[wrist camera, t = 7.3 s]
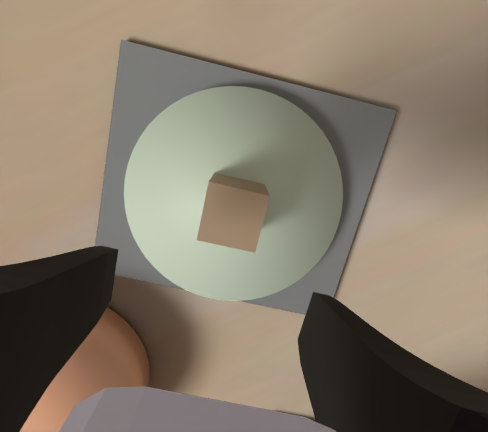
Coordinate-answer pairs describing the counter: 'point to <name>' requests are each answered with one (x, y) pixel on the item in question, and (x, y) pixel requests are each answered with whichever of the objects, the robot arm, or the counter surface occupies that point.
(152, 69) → the mat
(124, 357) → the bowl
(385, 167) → the counter surface
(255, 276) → the lid
